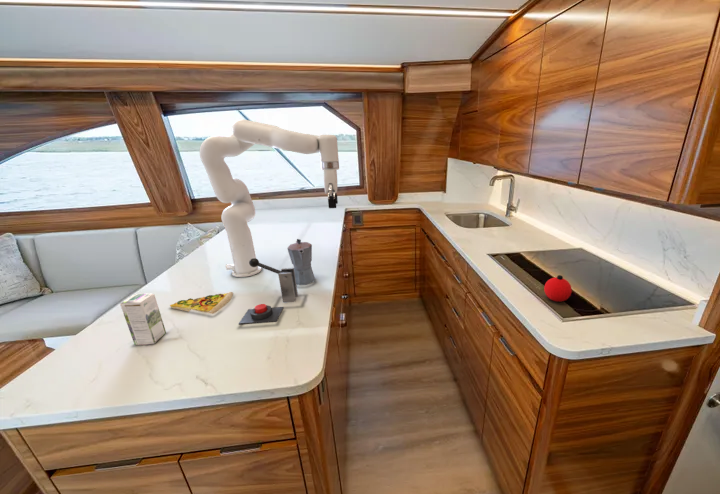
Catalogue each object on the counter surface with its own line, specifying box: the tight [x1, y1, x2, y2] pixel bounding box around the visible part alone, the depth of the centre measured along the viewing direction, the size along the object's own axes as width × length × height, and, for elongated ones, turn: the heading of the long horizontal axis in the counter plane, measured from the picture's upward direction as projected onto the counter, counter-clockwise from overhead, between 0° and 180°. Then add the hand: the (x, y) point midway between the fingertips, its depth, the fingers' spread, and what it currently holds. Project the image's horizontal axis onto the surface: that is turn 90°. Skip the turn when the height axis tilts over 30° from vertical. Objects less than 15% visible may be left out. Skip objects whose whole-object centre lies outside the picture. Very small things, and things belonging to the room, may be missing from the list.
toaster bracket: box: [277, 267, 299, 303], centre depth 110 cm, size 10×9×13 cm
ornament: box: [543, 274, 573, 303], centre depth 109 cm, size 9×9×10 cm
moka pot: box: [287, 238, 316, 286], centre depth 124 cm, size 10×15×20 cm, turn 27°
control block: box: [238, 304, 284, 326], centre depth 101 cm, size 12×9×4 cm
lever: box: [249, 257, 289, 275], centre depth 107 cm, size 15×3×3 cm, turn 97°
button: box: [254, 303, 267, 314], centre depth 100 cm, size 4×4×2 cm
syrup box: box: [119, 292, 167, 346], centre depth 89 cm, size 6×6×14 cm
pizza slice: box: [169, 291, 234, 315], centre depth 110 cm, size 16×21×3 cm
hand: (333, 205), depth 132 cm, fingers open, 9 cm apart
